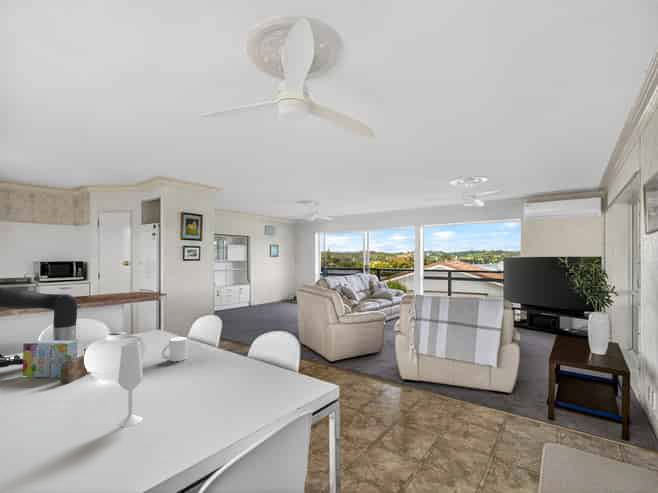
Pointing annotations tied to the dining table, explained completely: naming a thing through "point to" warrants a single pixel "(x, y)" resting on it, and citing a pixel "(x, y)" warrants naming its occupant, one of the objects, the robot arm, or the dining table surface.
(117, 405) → the dining table surface
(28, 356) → the snack box
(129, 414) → the champagne flute
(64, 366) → the block
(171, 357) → the mug
